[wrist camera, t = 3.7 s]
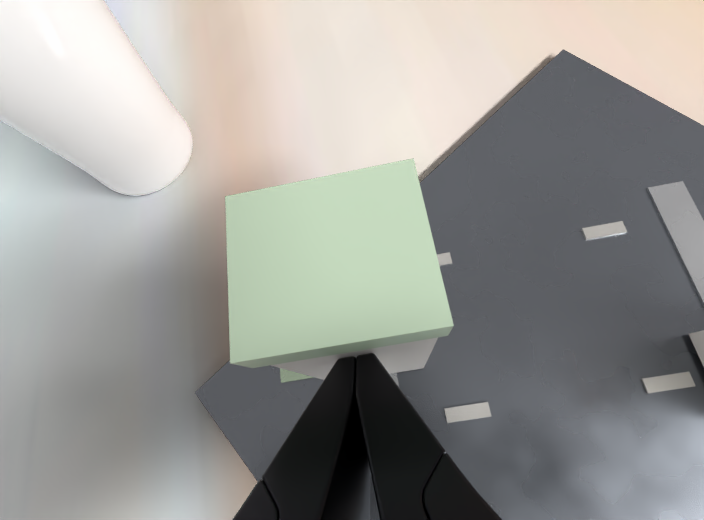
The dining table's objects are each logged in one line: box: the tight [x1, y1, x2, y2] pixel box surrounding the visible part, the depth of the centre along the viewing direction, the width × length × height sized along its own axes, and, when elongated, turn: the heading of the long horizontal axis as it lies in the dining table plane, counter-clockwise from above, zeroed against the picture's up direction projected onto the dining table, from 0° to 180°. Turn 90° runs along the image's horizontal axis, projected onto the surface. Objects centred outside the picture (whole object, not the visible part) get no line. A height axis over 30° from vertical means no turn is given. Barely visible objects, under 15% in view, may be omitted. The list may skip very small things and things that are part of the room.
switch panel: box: [195, 50, 704, 520], centre depth 14 cm, size 24×24×1 cm
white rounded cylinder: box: [0, 0, 193, 196], centre depth 14 cm, size 7×7×15 cm
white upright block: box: [225, 158, 454, 380], centre depth 11 cm, size 3×4×9 cm
